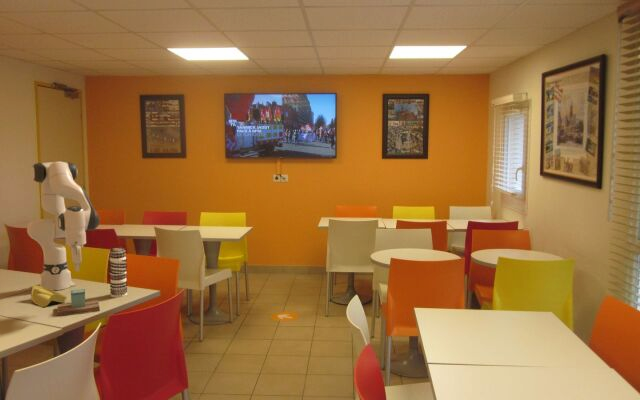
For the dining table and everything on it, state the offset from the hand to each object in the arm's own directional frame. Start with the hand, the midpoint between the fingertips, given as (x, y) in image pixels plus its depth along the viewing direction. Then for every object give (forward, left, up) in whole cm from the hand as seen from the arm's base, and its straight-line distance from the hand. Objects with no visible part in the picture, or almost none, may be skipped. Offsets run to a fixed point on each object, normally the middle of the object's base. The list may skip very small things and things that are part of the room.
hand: (76, 268), depth 241 cm
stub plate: (0, 0, -20) cm, 20 cm away
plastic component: (-21, -13, -21) cm, 32 cm away
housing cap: (0, 0, -18) cm, 18 cm away
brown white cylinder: (-18, +20, -20) cm, 34 cm away
